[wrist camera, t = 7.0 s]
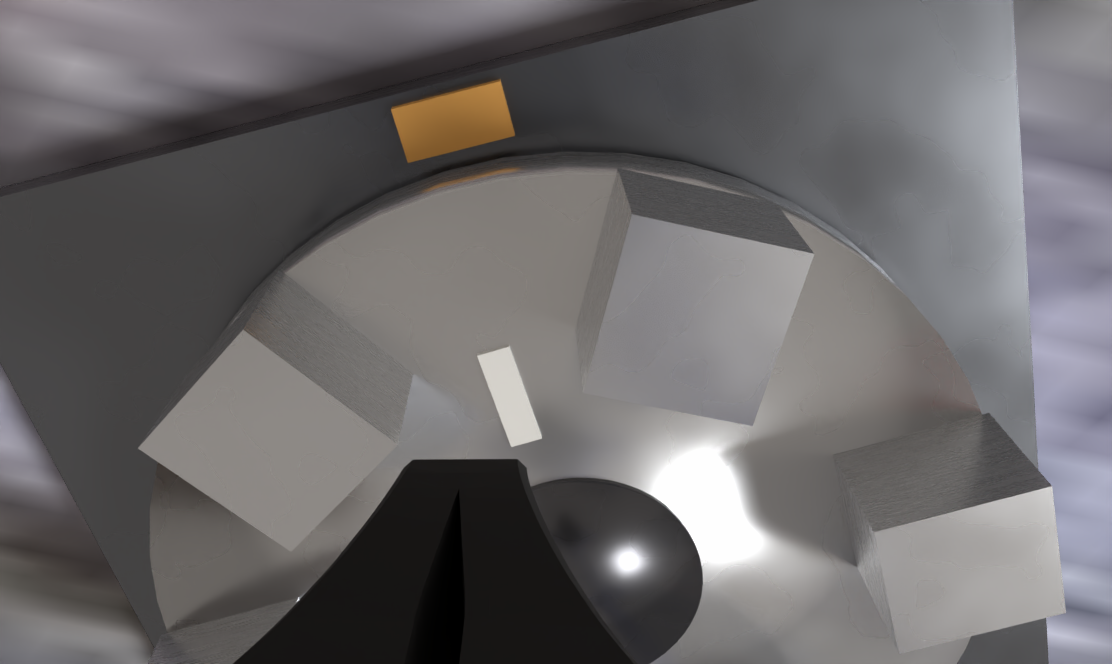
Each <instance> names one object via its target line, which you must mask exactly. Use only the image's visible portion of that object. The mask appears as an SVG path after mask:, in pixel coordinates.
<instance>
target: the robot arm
mask: <svg viewBox="0 0 1112 664" xmlns="http://www.w3.org/2000/svg"><path fill="white" fill-rule="evenodd" d="M233 664H637V662H636V661H635V660H634V659H633V658H632V656H631V655H630V654H629V653H628V651H627V650H626V649H625V648H624V647H623V645H622V644H621V643H620V642H619V640H618V639H617V638H616V636H615V635H614V634H613V633H612V631H611V630H610V629H609V627H608V626H607V624H606V623H605V622H604V620H603V619H602V618H601V616H600V615H599V613H598V612H597V610H596V609H595V607H594V606H593V604H592V603H591V601H590V600H589V598H588V597H587V595H586V594H585V592H584V591H583V589H582V588H581V586H580V585H579V583H578V582H577V580H576V578H575V577H574V575H573V573H572V572H571V570H570V568H569V567H568V565H567V563H566V561H565V559H564V558H563V556H562V554H561V552H560V550H559V548H558V547H557V545H556V543H555V541H554V539H553V538H552V536H551V534H550V532H549V530H548V528H547V525H546V523H545V521H544V519H543V517H542V514H541V512H540V510H539V507H538V505H537V503H536V500H535V497H534V495H533V492H532V489H531V486H530V482H529V478H528V474H527V467H525V466H524V465H523V464H522V463H521V462H520V461H519V460H518V459H414V460H412V461H411V462H410V463H408V464H407V465H406V466H405V467H404V468H403V470H402V471H401V473H400V474H399V476H398V477H397V479H396V481H395V482H394V484H393V485H392V487H391V488H390V490H389V491H388V492H387V494H386V495H385V497H384V498H383V500H382V501H381V502H380V504H379V505H378V506H377V508H376V509H375V511H374V512H373V513H372V515H371V516H370V517H369V519H368V520H367V521H366V523H365V524H364V525H363V527H362V528H361V529H360V530H359V532H358V533H357V534H356V535H355V536H354V538H353V539H352V540H351V541H350V543H349V544H348V545H347V546H346V548H345V549H344V550H343V551H342V553H341V554H340V555H339V556H338V558H337V559H336V560H335V561H334V562H333V564H332V565H331V566H330V567H329V568H328V569H327V570H326V572H325V573H324V574H323V575H322V576H321V577H320V578H319V579H318V580H317V581H316V582H315V583H314V585H313V586H312V587H311V588H310V589H309V590H308V591H307V592H306V593H305V594H304V595H303V596H302V598H301V599H300V600H299V601H298V602H297V603H296V604H295V605H294V606H293V607H292V608H291V609H290V610H289V611H288V612H287V613H286V615H285V616H283V617H282V618H281V619H280V620H279V621H278V622H277V623H276V624H275V625H274V626H273V627H272V628H271V629H270V630H269V631H268V632H267V633H266V634H265V635H264V636H263V637H262V638H261V639H260V640H259V641H258V642H256V643H255V644H254V645H253V646H252V647H251V648H250V649H249V650H247V651H246V652H245V653H244V654H243V655H242V656H241V657H240V658H238V659H237V660H236V661H235V662H234V663H233Z"/></svg>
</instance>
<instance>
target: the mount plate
mask: <svg viewBox="0 0 1112 664" xmlns="http://www.w3.org/2000/svg"><path fill="white" fill-rule="evenodd" d="M561 151H575V152H614V153H630V154H636V155H642V156H649V157H655V158H661V159H668V160H674V161H681V162H686V163H689V164H693V165H696V166H699V167H703V168H706V169H709V170H713V171H716V172H720V173H723V174H726V175H730V176H733V177H736V178H740V179H743V180H745V181H747V182H749V183H751V184H754V185H756V186H758V187H760V188H763V189H765V190H767V191H769V192H771V193H774V194H776V195H778V196H780V197H782V198H785V199H787V200H789V201H791V202H794V203H795V204H797V205H798V206H800V207H801V208H803V209H805V210H806V211H808V212H809V213H811V214H812V215H814V216H816V217H817V218H819V219H820V220H822V221H823V222H825V223H827V224H828V225H830V226H831V227H833V228H835V229H836V230H838V231H839V232H841V233H842V234H843V235H844V236H845V237H846V238H848V239H849V240H850V241H851V242H852V243H853V244H855V245H856V246H857V247H858V248H859V249H860V250H862V251H863V252H864V253H865V254H866V255H867V256H868V257H870V258H871V259H872V260H873V261H874V262H875V263H877V264H878V265H879V266H880V267H881V268H882V269H883V270H884V271H885V273H886V274H887V275H888V276H889V277H890V278H891V279H892V280H893V281H894V283H895V284H896V285H897V286H898V287H899V288H900V289H901V290H902V291H903V293H904V294H905V295H906V296H907V297H908V298H909V299H910V301H911V302H912V303H913V304H914V305H915V306H916V308H917V309H918V310H919V311H920V312H921V313H922V315H923V316H924V317H925V318H926V319H927V320H928V322H929V323H930V324H931V325H932V326H933V328H934V329H935V330H936V331H937V332H938V333H939V335H940V336H941V337H942V338H943V340H944V342H945V343H946V345H947V347H948V348H949V350H950V351H951V353H952V355H953V356H954V358H955V360H956V361H957V363H958V365H959V366H960V368H961V369H962V371H963V373H964V374H965V376H966V378H967V379H968V381H969V383H970V386H971V388H972V391H973V393H974V396H975V398H976V401H977V403H978V406H979V408H980V411H981V413H982V414H986V413H990V414H991V416H992V417H993V418H994V419H995V420H996V421H997V423H998V424H999V425H1000V426H1001V427H1002V428H1003V430H1004V431H1005V432H1006V433H1007V434H1008V435H1009V437H1010V438H1011V439H1012V440H1013V441H1014V442H1015V444H1016V445H1017V446H1018V447H1019V448H1020V449H1021V451H1022V452H1023V453H1024V454H1025V455H1026V456H1027V458H1028V459H1029V460H1030V461H1031V462H1032V464H1033V465H1034V466H1035V467H1036V468H1037V469H1038V459H1037V440H1036V422H1035V403H1034V385H1033V366H1032V348H1031V329H1030V310H1029V292H1028V273H1027V255H1026V236H1025V218H1024V199H1023V180H1022V162H1021V143H1020V125H1019V106H1018V88H1017V69H1016V50H1015V32H1014V13H1013V0H721V1H717V2H713V3H709V4H705V5H702V6H698V7H694V8H690V9H686V10H682V11H679V12H675V13H671V14H667V15H663V16H659V17H655V18H652V19H648V20H644V21H640V22H636V23H632V24H629V25H625V26H621V27H617V28H613V29H609V30H605V31H602V32H598V33H594V34H590V35H586V36H582V37H579V38H575V39H571V40H567V41H563V42H559V43H556V44H552V45H548V46H544V47H540V48H536V49H532V50H529V51H525V52H521V53H517V54H513V55H509V56H506V57H502V58H498V59H494V60H490V61H486V62H482V63H479V64H475V65H471V66H467V67H463V68H459V69H456V70H452V71H448V72H444V73H440V74H436V75H433V76H429V77H425V78H421V79H417V80H413V81H409V82H406V83H402V84H398V85H394V86H390V87H386V88H383V89H379V90H375V91H371V92H367V93H363V94H359V95H356V96H352V97H348V98H344V99H340V100H336V101H333V102H329V103H325V104H321V105H317V106H313V107H309V108H306V109H302V110H298V111H294V112H290V113H286V114H283V115H279V116H275V117H271V118H267V119H263V120H260V121H256V122H252V123H248V124H244V125H240V126H236V127H233V128H229V129H225V130H221V131H217V132H213V133H210V134H206V135H202V136H198V137H194V138H190V139H186V140H183V141H179V142H175V143H171V144H167V145H163V146H160V147H156V148H152V149H148V150H144V151H140V152H136V153H133V154H129V155H125V156H121V157H117V158H113V159H110V160H106V161H102V162H98V163H94V164H90V165H87V166H83V167H79V168H75V169H71V170H67V171H63V172H60V173H56V174H52V175H48V176H44V177H40V178H37V179H33V180H29V181H25V182H21V183H17V184H13V185H10V186H6V187H2V188H0V363H1V365H2V367H3V369H4V370H5V372H6V374H7V376H8V378H9V380H10V382H11V383H12V385H13V387H14V389H15V391H16V393H17V395H18V396H19V398H20V400H21V402H22V404H23V406H24V408H25V409H26V411H27V413H28V415H29V417H30V419H31V421H32V422H33V424H34V426H35V428H36V430H37V432H38V433H39V435H40V437H41V439H42V441H43V443H44V445H45V446H46V448H47V450H48V452H49V454H50V456H51V458H52V459H53V461H54V463H55V465H56V467H57V469H58V471H59V472H60V474H61V476H62V478H63V480H64V482H65V484H66V485H67V487H68V489H69V491H70V493H71V495H72V496H73V498H74V500H75V502H76V504H77V506H78V508H79V509H80V511H81V513H82V515H83V517H84V519H85V521H86V522H87V524H88V526H89V528H90V530H91V532H92V534H93V535H94V537H95V539H96V541H97V543H98V545H99V547H100V548H101V550H102V552H103V554H104V556H105V558H106V559H107V561H108V563H109V565H110V567H111V569H112V571H113V572H114V574H115V576H116V578H117V580H118V582H119V584H120V585H121V587H122V589H123V591H124V593H125V595H126V597H127V598H128V600H129V602H130V604H131V606H132V608H133V610H134V611H135V613H136V615H137V617H138V619H139V621H140V622H141V624H142V626H143V628H144V630H145V632H146V634H147V635H148V637H149V639H150V641H151V643H152V645H153V647H154V648H155V647H156V645H157V643H158V641H159V639H160V637H161V635H162V634H164V633H168V632H167V629H166V626H165V623H164V620H163V617H162V614H161V611H160V608H159V605H158V602H157V597H156V591H155V585H154V579H153V573H152V566H151V560H150V505H151V499H152V493H153V487H154V481H155V475H156V469H157V463H158V462H157V461H156V460H154V459H153V458H151V457H150V456H148V455H147V454H145V453H144V452H142V451H141V450H139V449H138V447H139V446H140V444H141V443H142V441H143V440H144V438H145V437H146V435H147V434H148V432H149V431H150V429H151V428H152V426H153V425H154V423H155V422H156V420H157V419H158V417H159V416H160V414H161V413H162V411H163V410H164V408H165V407H166V405H167V404H168V402H169V401H170V399H171V398H172V396H173V395H174V393H175V392H176V390H177V389H178V387H179V386H180V384H181V383H182V381H183V380H184V378H185V377H186V375H187V374H188V373H189V372H190V371H191V370H192V369H193V367H194V366H195V365H196V364H197V363H198V362H199V361H200V360H201V358H202V357H203V356H204V355H205V354H206V353H207V352H208V350H209V349H210V348H211V347H212V346H213V345H214V343H215V342H216V340H217V339H218V337H219V336H220V334H221V333H222V331H223V330H224V329H225V327H226V326H227V325H228V323H229V322H230V321H231V320H232V318H233V317H234V316H235V314H236V313H237V312H238V310H239V309H240V308H241V306H242V305H243V304H244V302H245V301H246V300H247V298H248V297H249V296H250V294H251V293H252V292H253V291H254V290H255V289H256V288H257V287H258V286H259V285H260V284H261V283H262V282H263V281H264V280H265V279H266V278H267V277H268V276H269V275H270V274H271V273H272V272H273V271H274V270H275V269H276V268H277V267H278V266H279V265H280V264H281V263H282V262H283V261H284V260H285V259H286V258H287V257H288V256H289V255H290V254H291V253H293V252H294V251H296V250H297V249H298V248H300V247H301V246H302V245H304V244H305V243H306V242H308V241H309V240H310V239H312V238H313V237H315V236H316V235H317V234H319V233H320V232H321V231H323V230H324V229H325V228H327V227H328V226H329V225H331V224H332V223H334V222H335V221H336V220H338V219H340V218H342V217H344V216H346V215H347V214H349V213H351V212H353V211H355V210H357V209H358V208H360V207H362V206H364V205H366V204H368V203H370V202H371V201H373V200H375V199H377V198H379V197H381V196H382V195H384V194H386V193H388V192H391V191H393V190H396V189H399V188H401V187H404V186H407V185H409V184H412V183H415V182H417V181H420V180H422V179H425V178H428V177H430V176H433V175H436V174H438V173H441V172H444V171H448V170H452V169H456V168H461V167H465V166H469V165H473V164H477V163H482V162H486V161H490V160H494V159H499V158H503V157H513V156H522V155H532V154H542V153H551V152H561ZM957 664H1049V663H1048V645H1047V626H1046V618H1043V619H1039V620H1035V621H1031V622H1027V623H1023V624H1019V625H1015V626H1011V627H1007V628H1003V629H999V630H995V631H990V632H986V633H982V634H978V635H974V636H971V638H970V640H969V642H968V645H967V647H966V649H965V651H964V652H963V654H962V656H961V657H960V659H959V661H958V662H957Z"/></svg>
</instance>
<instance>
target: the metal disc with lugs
mask: <svg viewBox="0 0 1112 664" xmlns="http://www.w3.org/2000/svg"><path fill="white" fill-rule="evenodd" d="M138 449H139V450H141V451H142V452H144V453H145V454H147V455H148V456H150V457H151V458H153V459H154V460H156V461H157V462H158V463H157V469H156V475H155V481H154V487H153V493H152V499H151V505H150V560H151V566H152V573H153V579H154V585H155V591H156V597H157V602H158V605H159V608H160V611H161V614H162V617H163V620H164V623H165V626H166V629H167V632H168V633H164V634H162V635H161V637H160V639H159V641H158V643H157V645H156V647H155V649H154V652H153V654H152V656H151V658H150V660H149V662H148V664H233V663H234V662H235V661H236V660H237V659H238V658H240V657H241V656H242V655H243V654H244V653H245V652H246V651H247V650H249V649H250V648H251V647H252V646H253V645H254V644H255V643H256V642H258V641H259V640H260V639H261V638H262V637H263V636H264V635H265V634H266V633H267V632H268V631H269V630H270V629H271V628H272V627H273V626H274V625H275V624H276V623H277V622H278V621H279V620H280V619H281V618H282V617H283V616H285V615H286V613H287V612H288V611H289V610H290V609H291V608H292V607H293V606H294V605H295V604H296V603H297V602H298V601H299V600H300V599H301V598H302V596H303V595H304V594H305V593H306V592H307V591H308V590H309V589H310V588H311V587H312V586H313V585H314V583H315V582H316V581H317V580H318V579H319V578H320V577H321V576H322V575H323V574H324V573H325V572H326V570H327V569H328V568H329V567H330V566H331V565H332V564H333V562H334V561H335V560H336V559H337V558H338V556H339V555H340V554H341V553H342V551H343V550H344V549H345V548H346V546H347V545H348V544H349V543H350V541H351V540H352V539H353V538H354V536H355V535H356V534H357V533H358V532H359V530H360V529H361V528H362V527H363V525H364V524H365V523H366V521H367V520H368V519H369V517H370V516H371V515H372V513H373V512H374V511H375V509H376V508H377V506H378V505H379V504H380V502H381V501H382V500H383V498H384V497H385V495H386V494H387V492H388V491H389V490H390V488H391V487H392V485H393V484H394V482H395V481H396V479H397V477H398V476H399V474H400V473H401V471H402V470H403V468H404V467H405V466H406V465H407V464H408V463H410V462H411V461H412V460H414V459H518V460H519V461H520V462H521V463H522V464H523V465H524V466H525V467H527V474H528V478H529V482H530V486H531V489H532V492H533V495H534V497H535V500H536V503H537V505H538V507H539V510H540V512H541V514H542V517H543V519H544V521H545V523H546V525H547V528H548V530H549V532H550V534H551V536H552V538H553V539H554V541H555V543H556V545H557V547H558V548H559V550H560V552H561V554H562V556H563V558H564V559H565V561H566V563H567V565H568V567H569V568H570V570H571V572H572V573H573V575H574V577H575V578H576V580H577V582H578V583H579V585H580V586H581V588H582V589H583V591H584V592H585V594H586V595H587V597H588V598H589V600H590V601H591V603H592V604H593V606H594V607H595V609H596V610H597V612H598V613H599V615H600V616H601V618H602V619H603V620H604V622H605V623H606V624H607V626H608V627H609V629H610V630H611V631H612V633H613V634H614V635H615V636H616V638H617V639H618V640H619V642H620V643H621V644H622V645H623V647H624V648H625V649H626V650H627V651H628V653H629V654H630V655H631V656H632V658H633V659H634V660H635V661H636V662H637V664H957V662H958V661H959V659H960V657H961V656H962V654H963V652H964V651H965V649H966V647H967V645H968V642H969V640H970V638H971V636H974V635H978V634H982V633H986V632H990V631H995V630H999V629H1003V628H1007V627H1011V626H1015V625H1019V624H1023V623H1027V622H1031V621H1035V620H1039V619H1043V618H1047V617H1051V616H1055V615H1059V614H1063V613H1066V609H1065V600H1064V591H1063V582H1062V573H1061V564H1060V554H1059V545H1058V536H1057V527H1056V518H1055V509H1054V500H1053V491H1052V486H1051V485H1050V483H1049V482H1048V481H1047V480H1046V479H1045V478H1044V476H1043V475H1042V474H1041V473H1040V472H1039V471H1038V469H1037V468H1036V467H1035V466H1034V465H1033V464H1032V462H1031V461H1030V460H1029V459H1028V458H1027V456H1026V455H1025V454H1024V453H1023V452H1022V451H1021V449H1020V448H1019V447H1018V446H1017V445H1016V444H1015V442H1014V441H1013V440H1012V439H1011V438H1010V437H1009V435H1008V434H1007V433H1006V432H1005V431H1004V430H1003V428H1002V427H1001V426H1000V425H999V424H998V423H997V421H996V420H995V419H994V418H993V417H992V416H991V414H990V413H986V414H982V413H981V411H980V408H979V406H978V403H977V401H976V398H975V396H974V393H973V391H972V388H971V386H970V383H969V381H968V379H967V378H966V376H965V374H964V373H963V371H962V369H961V368H960V366H959V365H958V363H957V361H956V360H955V358H954V356H953V355H952V353H951V351H950V350H949V348H948V347H947V345H946V343H945V342H944V340H943V338H942V337H941V336H940V335H939V333H938V332H937V331H936V330H935V329H934V328H933V326H932V325H931V324H930V323H929V322H928V320H927V319H926V318H925V317H924V316H923V315H922V313H921V312H920V311H919V310H918V309H917V308H916V306H915V305H914V304H913V303H912V302H911V301H910V299H909V298H908V297H907V296H906V295H905V294H904V293H903V291H902V290H901V289H900V288H899V287H898V286H897V285H896V284H895V283H894V281H893V280H892V279H891V278H890V277H889V276H888V275H887V274H886V273H885V271H884V270H883V269H882V268H881V267H880V266H879V265H878V264H877V263H875V262H874V261H873V260H872V259H871V258H870V257H868V256H867V255H866V254H865V253H864V252H863V251H862V250H860V249H859V248H858V247H857V246H856V245H855V244H853V243H852V242H851V241H850V240H849V239H848V238H846V237H845V236H844V235H843V234H842V233H841V232H839V231H838V230H836V229H835V228H833V227H831V226H830V225H828V224H827V223H825V222H823V221H822V220H820V219H819V218H817V217H816V216H814V215H812V214H811V213H809V212H808V211H806V210H805V209H803V208H801V207H800V206H798V205H797V204H795V203H794V202H791V201H789V200H787V199H785V198H782V197H780V196H778V195H776V194H774V193H771V192H769V191H767V190H765V189H763V188H760V187H758V186H756V185H754V184H751V183H749V182H747V181H745V180H743V179H740V178H736V177H733V176H730V175H726V174H723V173H720V172H716V171H713V170H709V169H706V168H703V167H699V166H696V165H693V164H689V163H686V162H681V161H674V160H668V159H661V158H655V157H649V156H642V155H636V154H630V153H614V152H575V151H561V152H551V153H542V154H532V155H522V156H513V157H503V158H499V159H494V160H490V161H486V162H482V163H477V164H473V165H469V166H465V167H461V168H456V169H452V170H448V171H444V172H441V173H438V174H436V175H433V176H430V177H428V178H425V179H422V180H420V181H417V182H415V183H412V184H409V185H407V186H404V187H401V188H399V189H396V190H393V191H391V192H388V193H386V194H384V195H382V196H381V197H379V198H377V199H375V200H373V201H371V202H370V203H368V204H366V205H364V206H362V207H360V208H358V209H357V210H355V211H353V212H351V213H349V214H347V215H346V216H344V217H342V218H340V219H338V220H336V221H335V222H334V223H332V224H331V225H329V226H328V227H327V228H325V229H324V230H323V231H321V232H320V233H319V234H317V235H316V236H315V237H313V238H312V239H310V240H309V241H308V242H306V243H305V244H304V245H302V246H301V247H300V248H298V249H297V250H296V251H294V252H293V253H291V254H290V255H289V256H288V257H287V258H286V259H285V260H284V261H283V262H282V263H281V264H280V265H279V266H278V267H277V268H276V269H275V270H274V271H273V272H272V273H271V274H270V275H269V276H268V277H267V278H266V279H265V280H264V281H263V282H262V283H261V284H260V285H259V286H258V287H257V288H256V289H255V290H254V291H253V292H252V293H251V294H250V296H249V297H248V298H247V300H246V301H245V302H244V304H243V305H242V306H241V308H240V309H239V310H238V312H237V313H236V314H235V316H234V317H233V318H232V320H231V321H230V322H229V323H228V325H227V326H226V327H225V329H224V330H223V331H222V333H221V334H220V336H219V337H218V339H217V340H216V342H215V343H214V345H213V346H212V347H211V348H210V349H209V350H208V352H207V353H206V354H205V355H204V356H203V357H202V358H201V360H200V361H199V362H198V363H197V364H196V365H195V366H194V367H193V369H192V370H191V371H190V372H189V373H188V374H187V375H186V377H185V378H184V380H183V381H182V383H181V384H180V386H179V387H178V389H177V390H176V392H175V393H174V395H173V396H172V398H171V399H170V401H169V402H168V404H167V405H166V407H165V408H164V410H163V411H162V413H161V414H160V416H159V417H158V419H157V420H156V422H155V423H154V425H153V426H152V428H151V429H150V431H149V432H148V434H147V435H146V437H145V438H144V440H143V441H142V443H141V444H140V446H139V447H138Z"/></svg>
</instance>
